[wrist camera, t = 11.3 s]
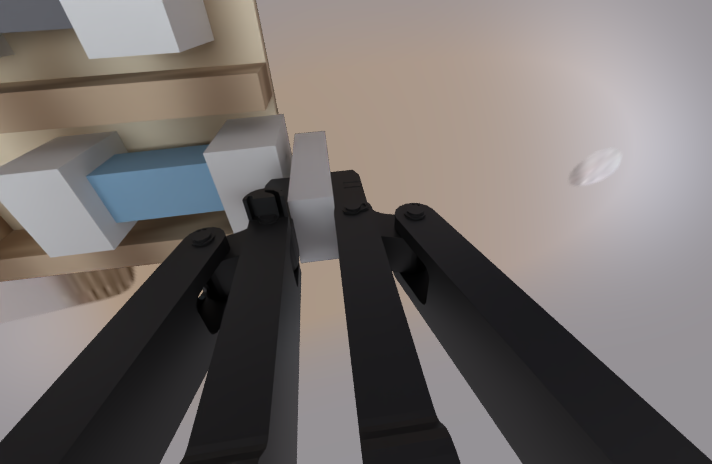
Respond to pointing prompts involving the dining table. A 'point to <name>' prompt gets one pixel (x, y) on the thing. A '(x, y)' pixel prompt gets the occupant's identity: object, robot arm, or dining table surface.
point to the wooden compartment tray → (127, 119)
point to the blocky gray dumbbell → (112, 24)
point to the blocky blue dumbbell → (138, 183)
